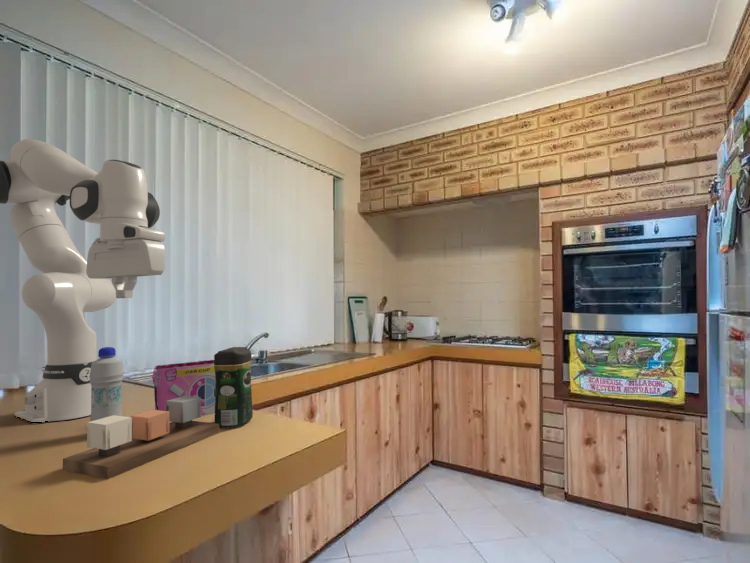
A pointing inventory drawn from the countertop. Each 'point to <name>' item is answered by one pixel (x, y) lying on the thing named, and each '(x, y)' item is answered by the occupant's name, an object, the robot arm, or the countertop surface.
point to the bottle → (106, 385)
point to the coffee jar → (233, 387)
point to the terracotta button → (150, 424)
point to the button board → (138, 450)
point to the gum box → (185, 383)
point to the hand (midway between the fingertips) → (124, 298)
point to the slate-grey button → (184, 409)
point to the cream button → (109, 432)
